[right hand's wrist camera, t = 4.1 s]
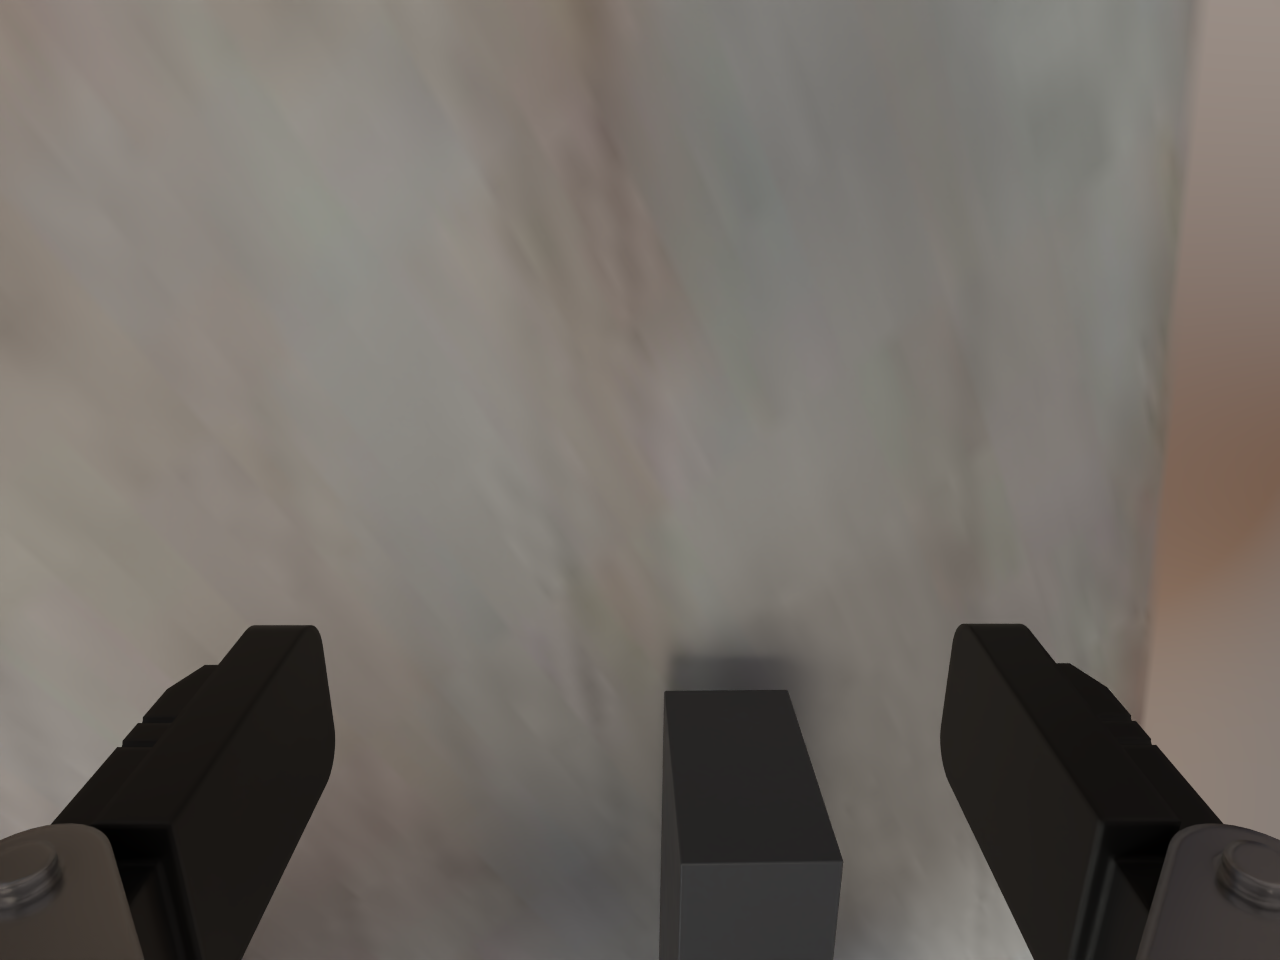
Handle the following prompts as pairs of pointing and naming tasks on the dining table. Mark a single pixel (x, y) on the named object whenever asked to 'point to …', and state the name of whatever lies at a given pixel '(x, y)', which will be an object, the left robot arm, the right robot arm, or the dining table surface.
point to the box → (743, 833)
